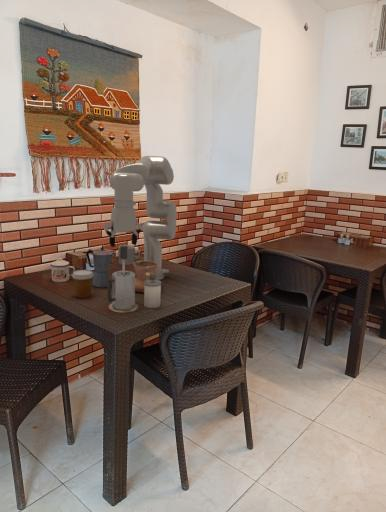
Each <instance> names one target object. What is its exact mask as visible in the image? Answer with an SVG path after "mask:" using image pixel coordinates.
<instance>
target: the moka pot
mask: <svg viewBox="0 0 386 512" xmlns="http://www.w3.org/2000/svg"><path fill="white" fill-rule="evenodd" d="M104 249H105V247H104V246H103V247H100V249H99V250H94V249H88V250H87V251H86V254H85V255H86V258H87V262H88V266H89V268H93V269H94V272H93V274H94V275H93V277H92V287H95V288H107V280H110V264H111V261H112V260H113V257H115V255H114V254H113V252H112V251H111V250H104ZM90 254H91V255H92V260H93V265H92V263H91V258H90Z"/></svg>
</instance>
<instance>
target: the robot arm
mask: <svg viewBox="0 0 386 512" xmlns="http://www.w3.org/2000/svg"><path fill="white" fill-rule="evenodd" d="M174 177H175V176H174V170H173V168H172V166H171V163H170V162H169V160H168V158H167V157H164V156H158V155H157V156H156V155H145V156H142V157H141V158H139V159H138V160H137V161H136V162H135V163H132V164H128V165H124V166H122V167H118V168H116V169H115V170H114V171H113V172H112V174H111V175H110V177H109V185H110V187H111V188H112V189H113V190H114V207H112V208H111V213H110V222H109V223H106V224H105V225H103V226H102V228H103V230H104V231H105V233H106V235H107V236H108V237H109V245H110V246H111V247H112V248H114V247H116V238H115V235H116V234H117V233H118V234H119V233H131V244H132V246H137V243H138V236H139V234H140V233H141V232H142V234H143V244H144V245H143V246H144V249H143V255H144V256H143V260H146V261H153V262H156V263H158V269H157V272H156V280H159V281H161V280H163V279H164V278H165V275H164V274H169V273H170V270H169V269H168V268H167V269H166V268H162V257H163V247H162V244H161V243H162V242H160V240H169V241H170V240H174V239H175V236H176V230H177V205H176V203H175V202H174V201H170V200H164V197H163V196H164V191H163V190H164V189H162V186H161V185H165V186H167V185H171V184H172V183H173V181H174ZM144 187H145V190H146V191H145V192H146V206H145V207H146V208H145V209H146V211H145V212H146V216H147V217H148V218H152V219H161V220H147V221H145V222H144V223H143V224H142V223H139V222H138V221H137V216H136V210H135V207H134V206H135V205H137V202H136V201H134V192H141V191H142V190H143V188H144ZM163 220H164V221H163ZM165 220H166V221H165ZM109 229H110V230H109Z"/></svg>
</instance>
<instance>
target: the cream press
mask: <svg viewBox="0 0 386 512" xmlns="http://www.w3.org/2000/svg"><path fill="white" fill-rule="evenodd" d="M161 286H162V281H161V280H156V273H150V280H145V281H144V293H143V294H144V295H143V296H144V297H143V306H144V307H145V308H149V309H157V308H160V306H161V295H162V294H161V293H162V292H161V291H162V289H161V288H162V287H161Z"/></svg>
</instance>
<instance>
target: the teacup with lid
mask: <svg viewBox="0 0 386 512" xmlns="http://www.w3.org/2000/svg"><path fill="white" fill-rule="evenodd" d="M50 268H51V281H52V282H54V283H65V282H68V281H69V280H70V276H71V277H72V275H73V272H74V271H76V268H75V267H74V266H73V265H72V266H71V265H70V262H69V261H67V260H65V259H63V258H62V257H59V258H58V259H56V260H55V261H52V262H51V263H50ZM70 268H71V269H72V270H73V272H71V273H70Z"/></svg>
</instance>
